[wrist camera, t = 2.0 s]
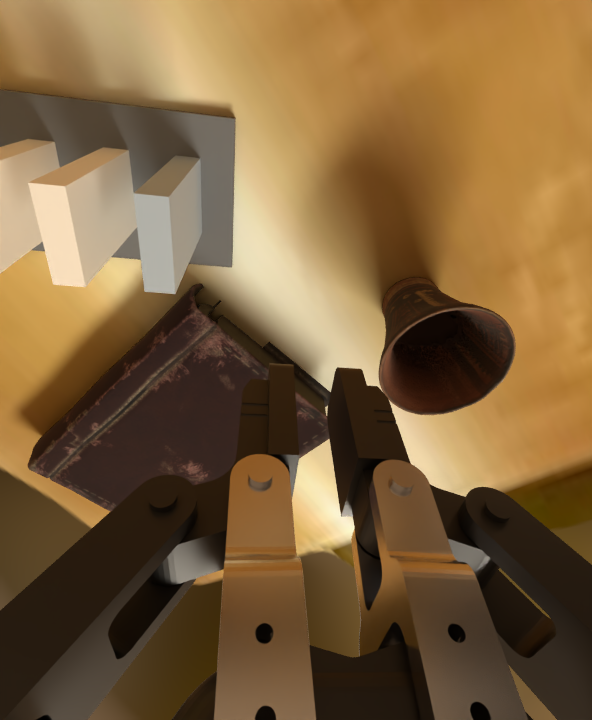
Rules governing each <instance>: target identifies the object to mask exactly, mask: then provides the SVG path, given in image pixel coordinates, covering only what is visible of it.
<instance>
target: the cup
mask: <svg viewBox="0 0 592 720" xmlns="http://www.w3.org/2000/svg"><path fill="white" fill-rule="evenodd" d="M382 308H383V315H384V317H385V324H386V338H385V346H384V350H383V352H382V356H381V360H380V366H379V381H380V385H381V388H382V390H383V392H384V394H385V395H386V396H387V397H388V399H389V400H390V401H391V402H392V403H393V404H394V405H396V406H397V407H399V408H401V409H403V410H405V411H408V412H410V413H415V414H420V415H437V414H446V413H450V412H453V411H456V410H459V409H462V408H464V407H467V406H470V405H472V404H474V403H476V402H478V401H480V400H482V399H483V398H485V397H486V396H487V395H488V394H489V393H490V392H491V391H492V390H494V389H495V388H496V387H497V386H498V385H499V384H500V383H501V382H503V379H504V378H505V377H506V375H507V373H508V372H509V370H510V368H511V365H512V362H513V359H514V356H515V347H516V346H515V337H514V334H513V331H512V329H511V327H510V326H509V324H508V323H507V322H506V321H505V320H504V319H503V318H502V317H501V316H500V315H498V314H497V313H495V312H493V311H491V310H489V309H486V308H483V307H480V306H477V305H473V304H468V303H462V302H459V301H457V300H455V299H454V298H451V297H450V296H448V295H446V294H444V293H442V292H441V291H440V290H439V289H438V288H437V287H436V285H435V284H434V283H432V282H431V281H429V280H427V279H424V278H408V279H405V280H402V281H400V282H398V283H396V284H395V285H394V286H393V287H391V288H390V290H389V291H388V292H387V294H386V295H385V297H384V301H383V307H382Z"/></svg>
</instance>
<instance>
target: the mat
mask: <svg viewBox="0 0 592 720" xmlns="http://www.w3.org/2000/svg"><path fill="white" fill-rule="evenodd" d="M26 139H33V140H42V141H51V142H55V146H56V151H57V156H58V161H59V166H60V167H62V166H64V165H67V164H69V163H71V162H73V161H75V160H77V159H79V158H81V157H84V156H86V155H88V154H90V153H92V152H94V151H96V150H99V149H101V148H103V147H105V148H114V149H123V150H129V157H130V166H131V174H132V183H133V192H135V191H137V190H138V189H139V188H140V187H141V186H142V185H143V184H144V183H146V182H147V181H148V180H149V179H150V178H151V177H152V176H153V175H154V174H156V173H157V172H158V171H159V170H160V169H161V168H162V167H163V166H164V165H166V164H167V163H168V162H169V161H170V160H171V159H172V158H173V157H175V156H176V155H177V156H186V157H195V158H200V163H201V208H202V234H201V236H200V239H199V241H198V243H197V245H196V248H195V250H194V252H193V255H192V257H191V259H190V262H189V264H198V265H210V266H221V267H232V253H233V208H234V162H235V118H232V117H224V116H215V115H207V114H199V113H191V112H183V111H175V110H166V109H158V108H150V107H142V106H134V105H125V104H117V103H109V102H101V101H93V100H85V99H76V98H68V97H60V96H52V95H44V94H35V93H27V92H19V91H11V90H3V89H0V147H2V146H6V145H9V144H13V143H16V142H19V141H23V140H26ZM32 250H36V251H45V249H44V245H43V242H41V243H40V244H39V245H37V246H36V247H35V248H33V249H32ZM112 257H117V258H129V259H140V260H141V256H140V247H139V239H138V230H137V228H136V229H135V230H134V231H133V232H132V233H131V235H130V236H129V237H128V238H127V239H126V240H125V242H124V243H123V244H122V245H121V246H120V247H119V249H118V250H117V251H116V252H115V253H114V254H113V256H112Z"/></svg>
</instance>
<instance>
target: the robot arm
mask: <svg viewBox="0 0 592 720" xmlns="http://www.w3.org/2000/svg"><path fill="white" fill-rule="evenodd" d="M327 423H328V431H329V437H330V444H331V451H332V457H333V464H334V471H335V478H336V484H337V491H338V498H339V504H340V511H341V516H348V517H353V520H354V526H355V529H354V532H353V535H352V551H353V559H354V567H355V575H356V582H357V590H358V598H359V606H360V616H361V624H360V634H359V655H360V657H356V658H355V657H354V658H352V657H347V656H344V655H341V654H337V653H334V652H331V651H327V650H323V649H321V648H317V647H314V646H311V645H309V638H308V637H309V636H308V625H307V614H306V603H305V592H304V582H303V572H302V564H301V560H300V557H298V556H297V554H296V546H295V534H294V521H293V509H292V496H293V490H294V484H295V478H296V472H297V466H298V460H299V442H298V426H297V411H296V395H295V380H294V366H293V365H290V364H275V363H269V371H268V380H262V379H250V381H249V382H248V383H247V385H246V386H245V387H244V389H243V393H242V403H241V413H240V424H239V434H238V444H237V454H236V460H235V462H234V464H233V466H232V467H231V468H230V470H229V471H228V472H226V473H225V474H224V475H222V476H221V477H219V478H217V479H215V480H212V481H209V482H205V483H201V484H197V485H192V484H191V483H190V482H189V481H188V480H187V479H185V478H183V477H180V476H177V475H160V476H157V477H154V478H151V479H149V480H147V481H146V482H144V483H143V484H141V485H140V486H139V487H138V488H137V489H136V490H134V491H133V492H132V493H131V494H130V495H129V496H128V497H127V498H126V499H124V500H123V501H122V502H121V503H120V504H119V505H118V506H117V507H115V508H114V509H113V510H112V511H111V512H110V513H109V514H108V515H107V516H105V517H104V518H103V519H102V520H101V521H100V522H99V523H98V524H96V525H95V526H94V527H93V528H92V529H91V530H90V531H89V532H88V533H86V534H85V535H84V536H83V537H82V538H81V539H80V540H79V541H78V542H76V543H75V544H74V545H73V546H72V547H71V548H70V549H69V550H67V551H66V552H65V553H64V554H63V555H62V556H61V557H60V558H59V559H58V560H56V561H55V562H54V563H53V564H52V565H51V566H50V567H49V568H47V569H46V570H45V571H44V572H43V573H42V574H41V575H40V576H39V577H37V578H36V579H35V580H34V581H33V582H32V583H31V584H30V585H28V587H26V588H25V589H24V590H23V591H22V592H21V593H19V594H18V595H17V596H16V597H15V598H14V599H13V600H12V601H11V602H9V603H8V604H7V605H6V606H5V607H4V608H3V609H2V610H1V611H0V720H88V718H89V717H90V716H91V714H92V713H93V712H94V710H95V709H96V708H97V707H98V705H99V704H100V703H101V701H102V700H103V699H104V698H105V696H106V695H107V694H108V692H109V691H110V690H111V689H112V687H113V686H114V685H115V683H116V682H117V680H119V678H120V677H121V676H122V674H123V673H124V672H125V671H126V669H127V668H128V667H129V665H130V664H131V663H132V661H133V660H134V659H135V657H136V656H137V655H138V654H139V652H140V651H141V650H142V649H143V647H144V646H145V645H146V643H147V642H148V641H149V640H150V638H151V637H152V636H153V634H154V633H155V632H156V631H157V629H158V628H159V627H160V625H161V624H162V623H163V622H164V620H165V619H166V618H167V616H168V615H169V614H170V612H171V611H172V610H173V609H174V607H175V606H176V605H177V604H178V602H179V601H180V600H181V598H182V597H183V596H184V594H185V593H186V592H187V591H188V589H189V588H190V587H191V585H192V584H193V583H194V581H195V580H196V578H198V577H201V576H204V575H207V574H210V573H213V572H216V571H219V570H222V569H224V573H223V589H222V605H221V619H220V635H219V650H218V666H217V672H215V673H214V674H212V675H211V676H210V677H208V678H207V679H206V680H205V681H204V682H203V683H202V684H200V685H199V686H198V687H197V688H196V690H195V691H194V692H193V693H192V694H191V695H190V696H189V697H188V698H187V700H186V701H185V703H184V704H183V705H182V706H181V708H180V709H179V710H178V712H177V713H176V715H175V716H174V717H173V719H172V720H533V719H532V718H531V717H530V716H529V715H528V714H527V713H526V712H525V710H524V707H523V704H522V702H521V699H520V696H519V693H518V691H517V688H516V685H515V683H514V680H513V677H512V674H511V671H510V669H509V666H510V667H511V668H512V669H513V670H514V671H515V672H516V673H517V675H518V676H519V677H520V678H521V679H522V680H523V681H524V682H525V684H526V685H527V686H528V687H529V688H530V689H531V691H532V692H533V693H534V694H535V695H536V696H537V697H538V698H539V699H540V701H541V702H542V703H543V704H544V705H545V706H546V707H547V709H548V710H549V711H550V712H551V713H552V714H553V715H554V716H555V718H556V719H557V720H592V565H591V564H590V563H589V562H588V561H586V560H585V559H584V558H583V557H582V556H580V555H579V554H578V553H577V552H576V551H574V550H573V549H572V548H571V547H570V546H568V545H567V544H566V543H565V542H564V541H562V540H561V539H560V538H559V537H557V536H556V535H555V534H554V533H553V532H551V531H550V530H549V529H548V528H547V527H545V526H544V525H543V524H542V523H541V522H539V521H538V520H537V519H536V518H535V517H533V516H532V515H531V514H530V513H529V512H527V511H526V510H525V509H524V508H523V507H521V506H520V505H519V504H518V503H517V502H515V501H514V500H513V499H512V498H510V497H509V496H508V495H506V494H504V493H503V492H500V491H498V490H496V489H493V488H488V487H478V488H474V489H472V490H471V491H470V492H469V493H468V494H467V496H466V497H464V496H460V495H457V494H454V493H451V492H448V491H444V490H441V489H439V488H436V487H434V486H432V485H430V484H429V482H428V480H427V478H426V476H425V475H424V474H423V473H422V472H421V471H420V470H419V469H418V468H416V467H415V466H413V465H412V464H411V463H410V461H409V458H408V455H407V452H406V449H405V446H404V443H403V440H402V437H401V434H400V432H399V429H398V426H397V424H396V420H395V417H394V414H393V413H392V408H391V405H390V402H389V400H388V397H387V396H386V395H385V394H384V393H383V392H382V391H381V390H380V389H379V388H378V386H367V385H366V381H365V378H364V374H363V371H362V370H361V369H352V368H337V369H336V371H335V375H334V380H333V385H332V390H331V395H330V399H329V404H328V413H327ZM499 568H501V569H502V570H503V571H504V572H505V573H506V574H507V575H508V576H509V577H510V578H511V579H512V580H513V581H514V582H515V583H516V584H517V585H518V586H519V587H520V588H521V589H522V590H523V591H524V592H525V593H527V595H529V596H530V597H531V598H532V599H533V600H534V601H535V602H536V603H537V604H538V605H539V606H540V607H541V608H542V609H543V610H544V611H545V612H546V613H547V614H548V615H549V616H550V618H551V619H550V618H548V617H547V616H545V615H544V614H543V613H542V612H541V611H540V610H539V609H538V608H537V607H536V606H535V605H534V604H533V603H532V602H531V601H530V600H529V599H528V598H527V597H526V596H525V595H524V594H523V593H521V592H520V591H519V590H518V589H517V588H516V587H515V586H514V585H513V584H512V583H511V582H510V581H509V580H508V579H507V578H506V577H505V576H504V575H503V574H502V573H501V572H500V571H499V570H498V569H499ZM508 665H509V666H508Z"/></svg>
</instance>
